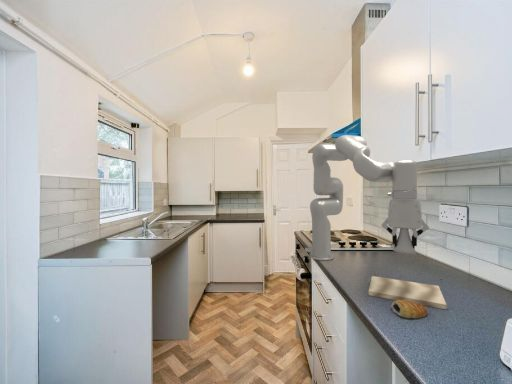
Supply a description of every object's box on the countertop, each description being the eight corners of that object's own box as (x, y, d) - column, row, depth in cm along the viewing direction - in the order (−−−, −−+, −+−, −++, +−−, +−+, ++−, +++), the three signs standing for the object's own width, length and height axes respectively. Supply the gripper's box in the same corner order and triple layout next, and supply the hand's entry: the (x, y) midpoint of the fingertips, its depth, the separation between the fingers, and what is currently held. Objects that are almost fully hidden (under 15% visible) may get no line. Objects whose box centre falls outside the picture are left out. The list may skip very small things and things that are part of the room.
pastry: (417, 307, 79) (418, 295, 79) (434, 319, 72) (434, 306, 72) (389, 309, 78) (389, 296, 78) (402, 320, 71) (402, 307, 71)
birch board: (368, 295, 87) (368, 290, 87) (371, 279, 101) (371, 276, 101) (446, 309, 77) (446, 304, 77) (438, 289, 91) (438, 285, 91)
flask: (420, 255, 84) (420, 225, 84) (396, 254, 86) (396, 225, 86) (411, 249, 92) (411, 222, 91) (389, 248, 93) (389, 222, 93)
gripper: (377, 196, 89) (377, 246, 89) (435, 196, 81) (435, 252, 81) (378, 195, 95) (378, 242, 96) (432, 195, 87) (431, 247, 88)
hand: (404, 246), depth 89 cm, fingers closed on flask, 4 cm apart
